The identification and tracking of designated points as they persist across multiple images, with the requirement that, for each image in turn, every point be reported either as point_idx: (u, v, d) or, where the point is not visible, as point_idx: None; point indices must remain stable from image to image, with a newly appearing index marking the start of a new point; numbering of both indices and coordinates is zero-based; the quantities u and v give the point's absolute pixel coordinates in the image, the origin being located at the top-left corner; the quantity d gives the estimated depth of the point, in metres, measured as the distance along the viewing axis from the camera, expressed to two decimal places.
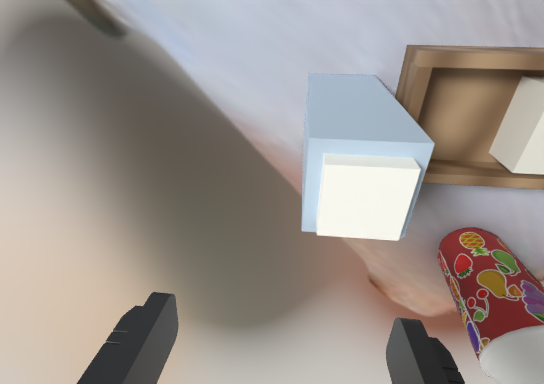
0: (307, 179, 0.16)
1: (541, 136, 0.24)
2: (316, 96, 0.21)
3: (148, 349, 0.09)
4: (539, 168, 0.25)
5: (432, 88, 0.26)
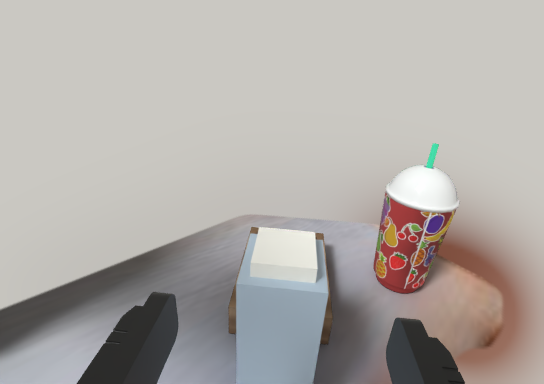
0: (272, 286, 0.20)
1: None
2: None
3: (148, 349, 0.09)
4: None
5: None
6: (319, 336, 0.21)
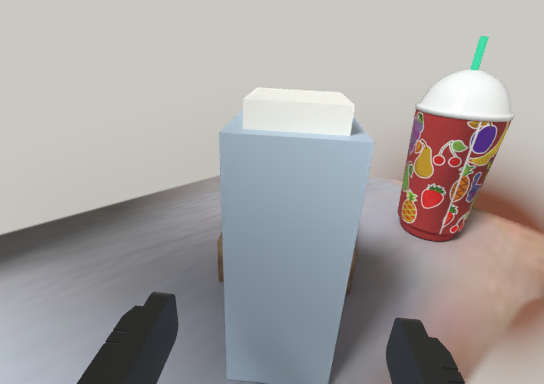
0: (279, 135, 0.12)
1: None
2: None
3: (148, 349, 0.09)
4: None
5: None
6: (354, 231, 0.13)
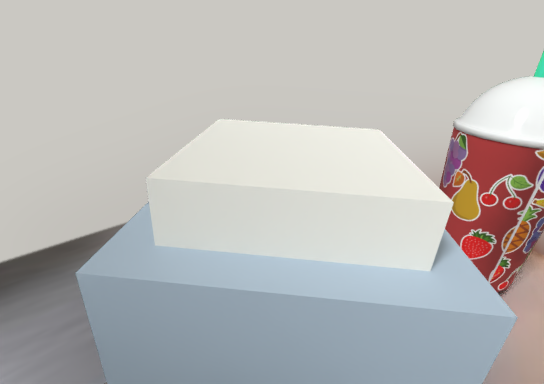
0: (242, 285, 0.04)
1: None
2: None
3: None
4: None
5: None
6: None
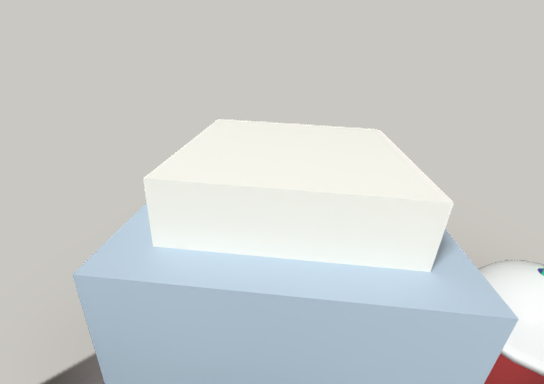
0: (240, 286, 0.04)
1: None
2: None
3: None
4: None
5: None
6: None
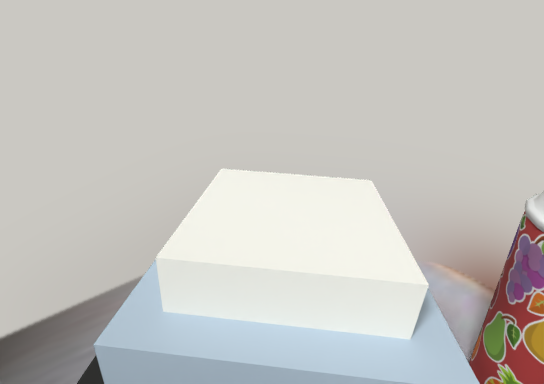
0: (240, 357, 0.05)
1: None
2: None
3: None
4: None
5: None
6: None
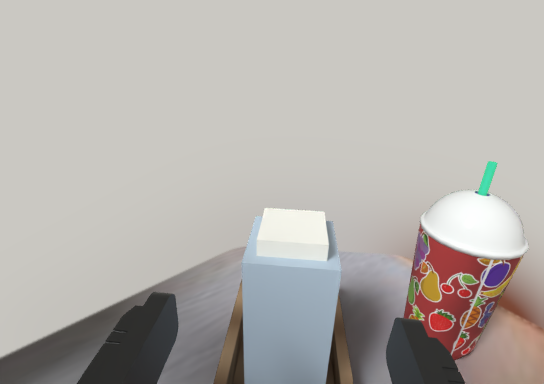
0: (280, 264, 0.18)
1: None
2: None
3: (148, 349, 0.09)
4: None
5: None
6: (332, 320, 0.19)
